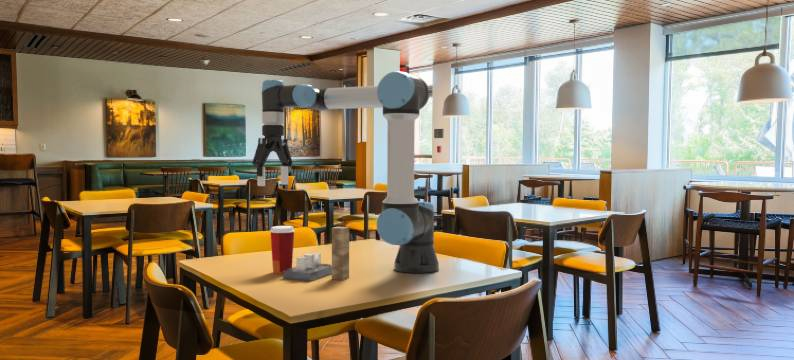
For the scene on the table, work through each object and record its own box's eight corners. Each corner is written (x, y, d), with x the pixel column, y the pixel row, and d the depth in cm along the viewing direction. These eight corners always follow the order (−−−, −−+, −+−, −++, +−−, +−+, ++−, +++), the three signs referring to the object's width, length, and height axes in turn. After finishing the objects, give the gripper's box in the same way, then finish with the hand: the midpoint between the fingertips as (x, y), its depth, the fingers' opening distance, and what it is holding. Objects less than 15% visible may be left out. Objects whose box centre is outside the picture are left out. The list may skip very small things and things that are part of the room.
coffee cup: (297, 270, 197) (297, 225, 196) (291, 275, 189) (291, 228, 188) (273, 269, 198) (273, 225, 197) (265, 274, 189) (265, 228, 189)
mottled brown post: (349, 277, 185) (349, 227, 185) (342, 280, 182) (343, 228, 181) (338, 276, 187) (338, 226, 186) (331, 278, 183) (331, 227, 183)
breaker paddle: (314, 267, 188) (314, 254, 188) (311, 267, 186) (311, 255, 186) (306, 266, 189) (306, 253, 189) (303, 267, 188) (303, 254, 187)
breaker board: (333, 273, 192) (333, 253, 192) (310, 281, 179) (310, 260, 179) (307, 270, 196) (307, 251, 196) (283, 278, 183) (283, 257, 183)
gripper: (284, 126, 218) (285, 183, 219) (241, 122, 196) (241, 186, 196) (301, 126, 215) (302, 183, 216) (259, 122, 193) (260, 187, 193)
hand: (273, 185), depth 206 cm, fingers open, 13 cm apart
